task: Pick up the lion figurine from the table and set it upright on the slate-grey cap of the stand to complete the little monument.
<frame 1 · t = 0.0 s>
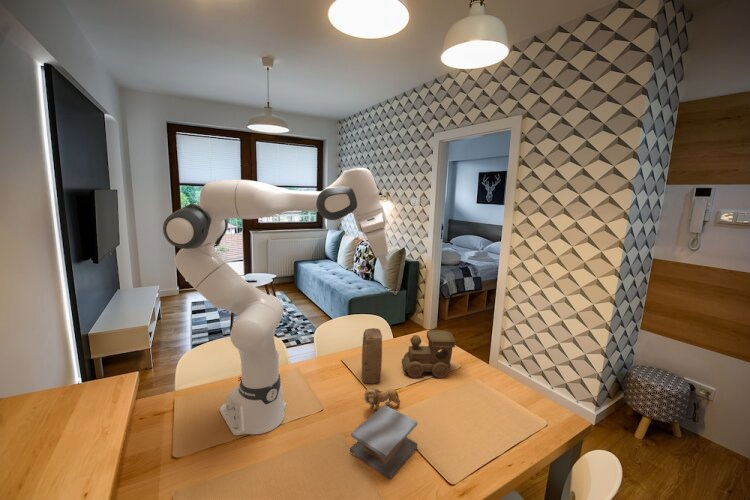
hand: (384, 265, 97), 52 cm above the table, tool tilted 20°, fingers open, 8 cm apart
stand: (383, 450, 93), on the table
wooden toy train: (426, 372, 136), on the table
block: (370, 377, 130), on the table
lion figurine: (381, 410, 111), on the table
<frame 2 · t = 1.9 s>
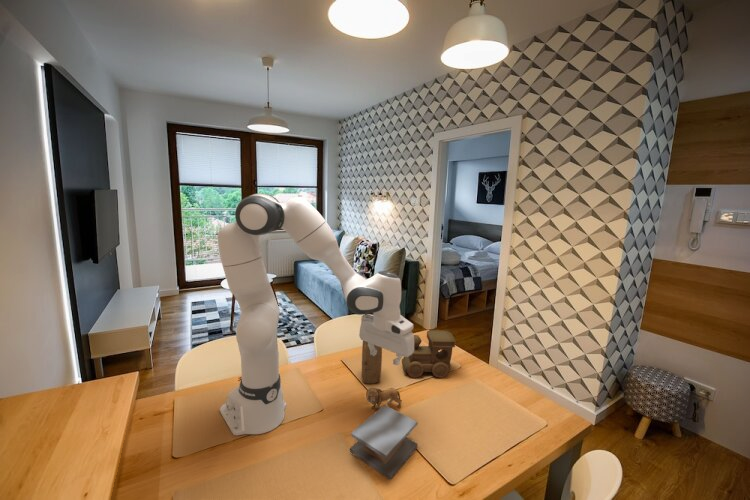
hand: (384, 359, 108), 19 cm above the table, tool pointing down, fingers open, 8 cm apart
nothing on the table moved.
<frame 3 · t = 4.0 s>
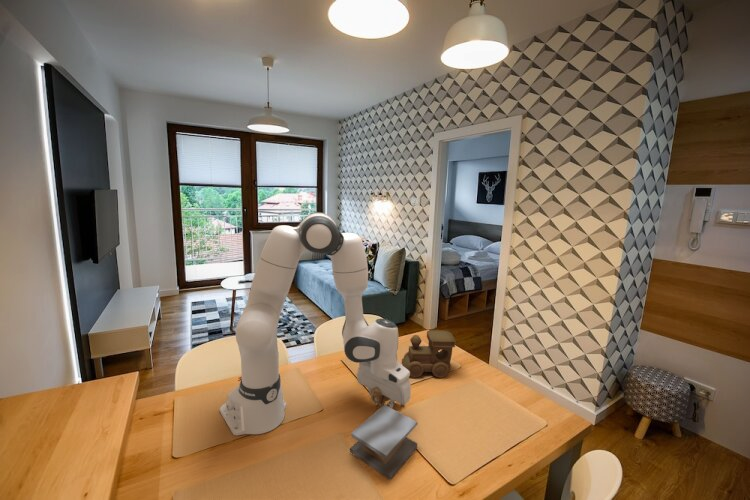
hand: (381, 403, 110), 2 cm above the table, tool pointing down, fingers open, 5 cm apart
lion figurine: (387, 408, 112), on the table, touching gripper
everything else where it was.
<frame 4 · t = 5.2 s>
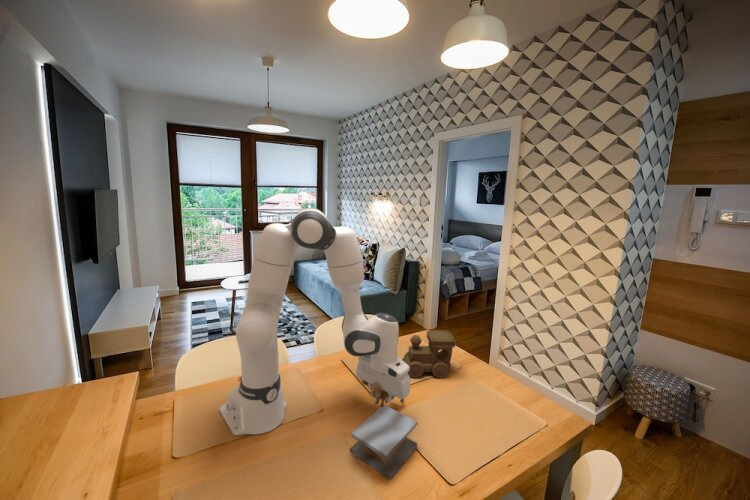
hand: (380, 398, 110), 4 cm above the table, tool pointing down, fingers closed on lion figurine, 5 cm apart
lion figurine: (386, 404, 111), point 2 cm above the table, touching gripper
everything else where it was.
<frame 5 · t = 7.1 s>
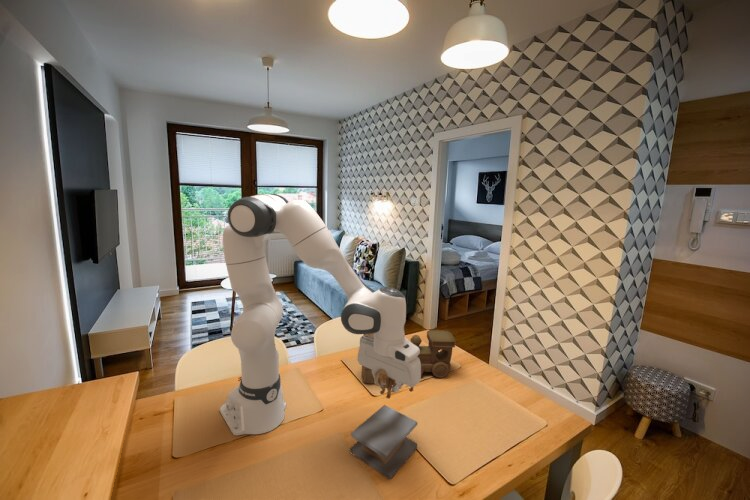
hand: (386, 387, 95), 17 cm above the table, tool pointing down, fingers closed on lion figurine, 5 cm apart
lion figurine: (393, 394, 96), point 14 cm above the table, touching gripper
everything else where it was.
when the fingers open (11 cm above the table, at t = 9.4 s): lion figurine moves 2 cm, resting on stand.
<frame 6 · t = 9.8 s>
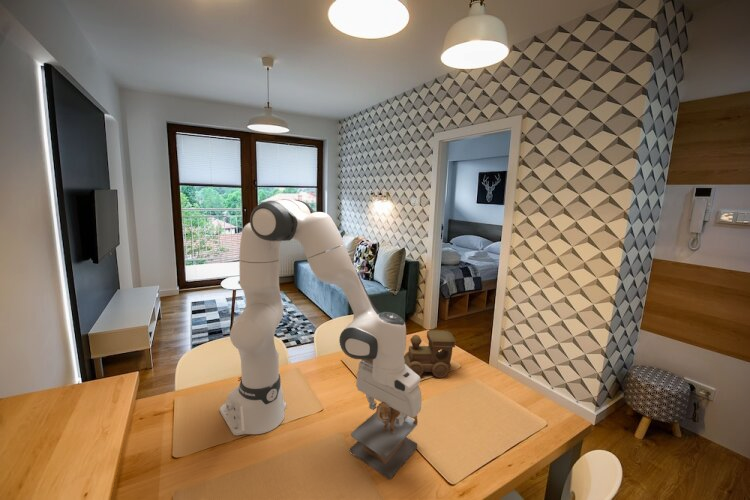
hand: (385, 415, 91), 11 cm above the table, tool pointing down, fingers open, 8 cm apart
lion figurine: (397, 428, 91), point 8 cm above the table, touching gripper, stand
everything else where it was.
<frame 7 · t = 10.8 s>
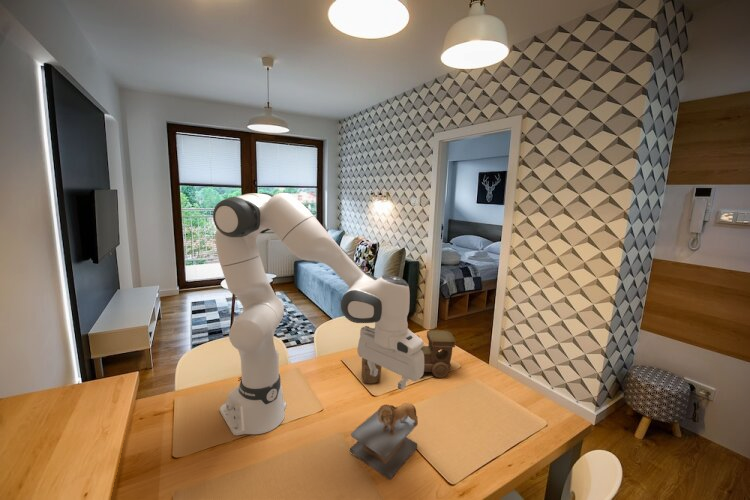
hand: (387, 381, 90), 22 cm above the table, tool pointing down, fingers open, 8 cm apart
lion figurine: (397, 429, 91), point 7 cm above the table, touching stand
everything else where it was.
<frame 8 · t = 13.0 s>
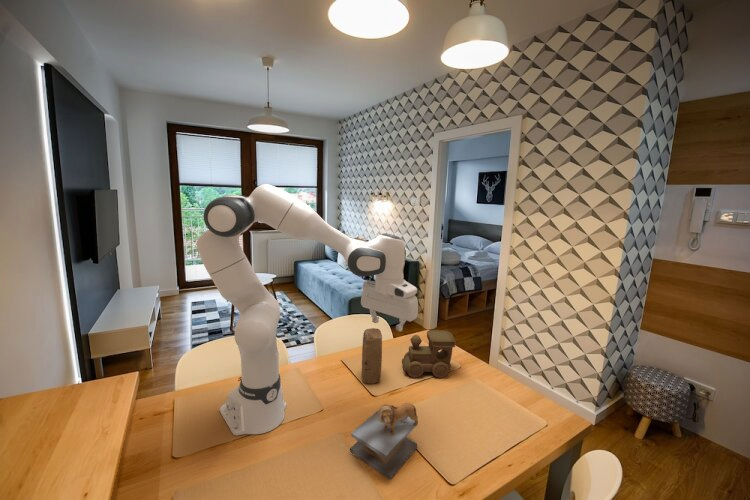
hand: (386, 326, 104), 31 cm above the table, tool pointing down, fingers open, 8 cm apart
nothing on the table moved.
at the end: lion figurine inside the target area on the stand (3.6 cm from its centre), point 7.3 cm above the stand's base; lion figurine tilted 0°; the gripper is holding nothing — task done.
